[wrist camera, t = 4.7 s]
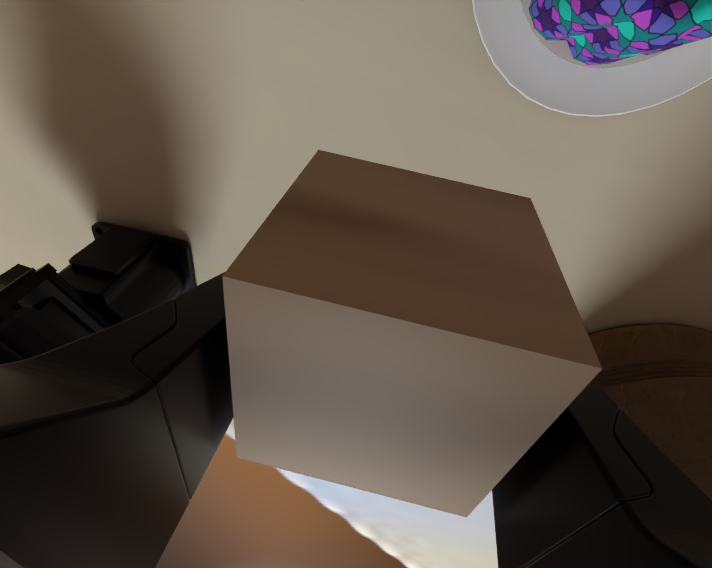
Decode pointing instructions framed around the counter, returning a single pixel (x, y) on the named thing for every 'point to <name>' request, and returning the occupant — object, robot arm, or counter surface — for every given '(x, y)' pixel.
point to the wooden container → (663, 389)
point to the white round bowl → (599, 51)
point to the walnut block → (400, 334)
